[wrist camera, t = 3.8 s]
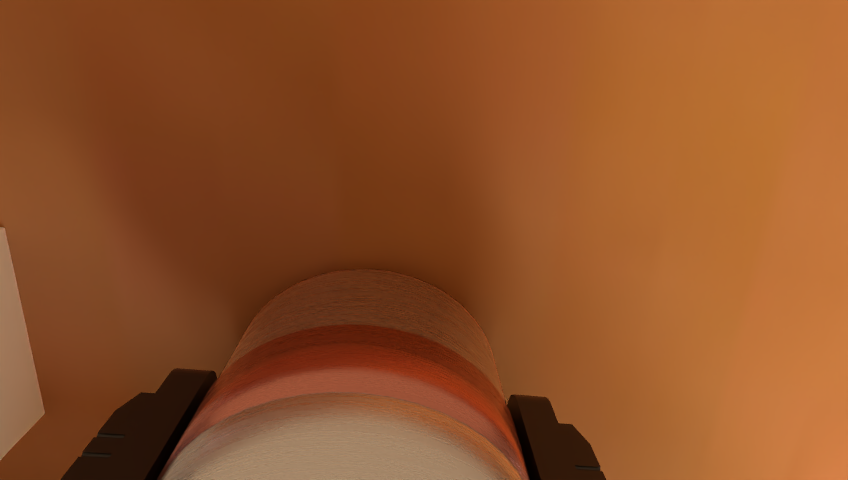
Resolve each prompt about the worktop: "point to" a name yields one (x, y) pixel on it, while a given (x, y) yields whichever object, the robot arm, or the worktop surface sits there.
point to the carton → (15, 361)
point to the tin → (355, 391)
